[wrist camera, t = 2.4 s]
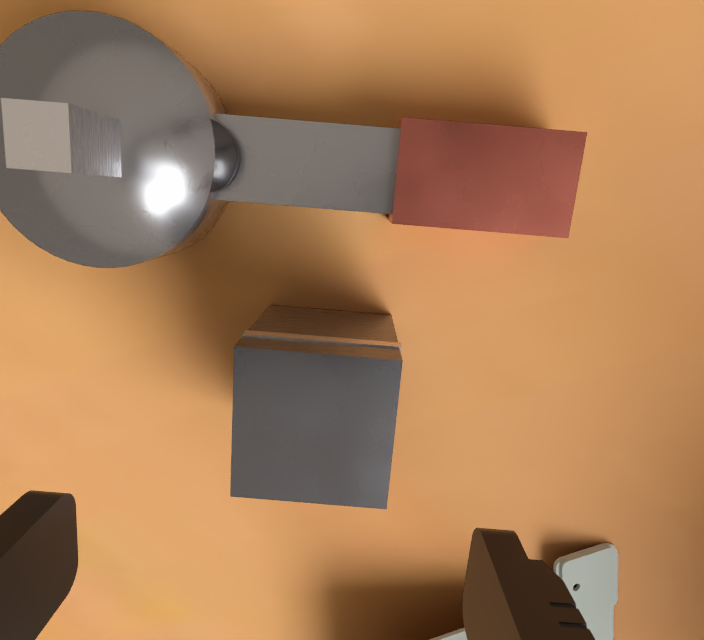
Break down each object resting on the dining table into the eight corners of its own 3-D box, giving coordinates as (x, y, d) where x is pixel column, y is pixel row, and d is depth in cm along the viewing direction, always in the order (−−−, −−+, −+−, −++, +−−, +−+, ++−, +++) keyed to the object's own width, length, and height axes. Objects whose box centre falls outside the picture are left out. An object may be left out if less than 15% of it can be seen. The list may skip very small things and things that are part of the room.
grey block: (392, 313, 21) (404, 359, 15) (381, 427, 22) (387, 510, 16) (268, 303, 21) (232, 344, 15) (264, 418, 22) (228, 497, 16)
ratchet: (566, 75, 19) (658, 20, 13) (530, 289, 21) (597, 326, 15) (22, 30, 19) (-132, -44, 13) (36, 249, 21) (-92, 270, 15)
